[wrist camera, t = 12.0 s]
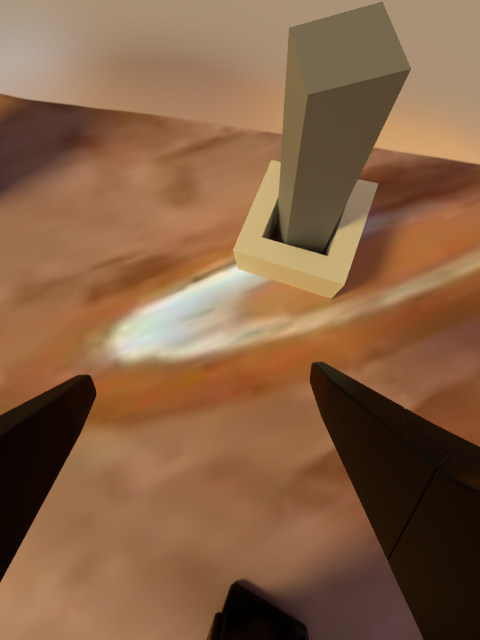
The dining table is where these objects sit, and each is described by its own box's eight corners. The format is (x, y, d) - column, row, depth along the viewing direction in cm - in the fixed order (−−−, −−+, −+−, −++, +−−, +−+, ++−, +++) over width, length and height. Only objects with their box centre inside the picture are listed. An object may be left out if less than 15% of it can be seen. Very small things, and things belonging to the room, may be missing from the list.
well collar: (360, 213, 24) (378, 183, 20) (331, 298, 22) (344, 284, 18) (270, 191, 26) (271, 160, 22) (238, 269, 24) (233, 250, 20)
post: (321, 254, 23) (411, 68, 9) (283, 262, 24) (307, 94, 9) (313, 221, 24) (382, 2, 10) (276, 228, 25) (289, 27, 10)
